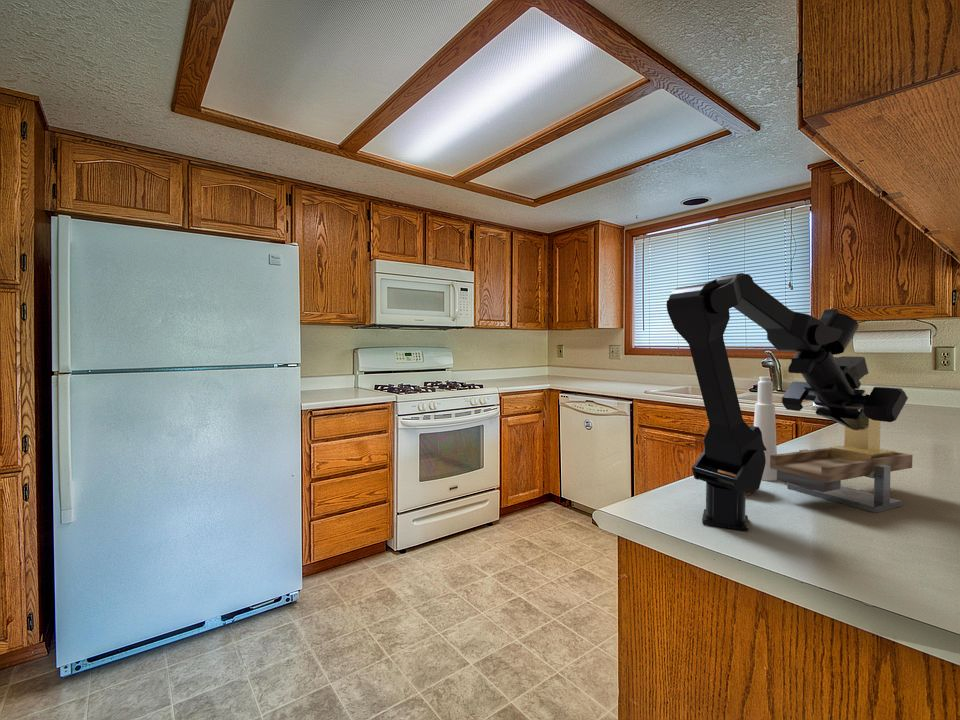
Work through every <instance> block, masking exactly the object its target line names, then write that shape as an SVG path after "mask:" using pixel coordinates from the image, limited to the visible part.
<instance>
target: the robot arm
mask: <svg viewBox="0 0 960 720" xmlns="http://www.w3.org/2000/svg"><path fill="white" fill-rule="evenodd" d="M731 308H734V309H735V310H736V311H738V312H739V313H740V314H742V315H744V316H745V317H747V318H748V319H749V320H750V321H751V322H754V323H755V324H757V325H758V326H759V327H761V328H762V329H763V330H765V332H766V339H767V341H768V342H769V343H770V344H771V345H772V346H773V347H774V348H775V349H776V350H777V351H779V352H792V353H795V352H796V353H795V354H794V356H793V357H792V358H791V360H790V361H791V362H790V364H789V366H788V370H787V371H788V373H790V374H801V376H802V377H803V379H804V380H805V381H792V382H791V383H790V384H789V386H788V388H787V389H786V391H785V392H784V394H783V395H782V397H781V403H782V405H783V406H784V408H785V410H787V411H788V410H789V411H796V412H800V411H801V410H802V409H803V408H804V406H803V404H802V403H803V401H813V403H812V405H811V406H812V407H814V408H815V409H816V410H815V414H816V415H817V416H821V417H824V418H826V419H828V420H830V421H834V422H836V423H837V424H840V425H842V426H844V427H845V426H846V427H848V428H850V429H852V430H859V428H860V416H861V415H862V413H864V414H865V416H866V417H868V418H870V419H872V420H876V421H881V422H884V423H885V422H886V423H893V422H895V421H896V420H897V419H898V417H899V415H900V414H901V412H902V410H903V408H904V406H905V404H906V402H907V401H908V398H909V397H908V396H907V394H906V392H905V391H904V390H903V388H900V387H888V386H887V387H886V386H874V387H873V388H872V390H871V391H870V394H868V393H866V390H865V389H860V387H861V385H862V383H861V381H860V380H861V379H862V378H864V377H865V376H868V374H869V368H868V364H867V362H866V357H864V356H848V355H847V356H836V355H840V354H844V352H845V351H846V349H847V348H848V346H849V344H850V342H852V339H853V337H854V336H855V334H856V333H857V331H858V329H859V326H860V325H859V323H858V321H857V319H854V318H853V317H851V316H850V315H847V314H845V313H842V312H841V313H840V312H839V310H838V309H837V308H832V309H831V308H830V309H824V310H823V312H822V314H821V316H820V318H817V317H815V316H812V315H811V314H808V313H802V312H798V311H794V310H792V309H790V308H789V307H788V306H786V305H784V304H783V303H782V302H781V301H779V300H778V299H777V298H775V297H774V295H772V294H770V293H769V292H768V291H766V290H765V289H764V288H763V287H761V286H759V284H757V283H756V282H755V281H754V280H753V277H752V276H751V274H748V273H743V272H740V273H734V274H726V275H721V276H719V277H718V278H714V279H713V280H711V281H708V282H705V283H701V284H700V283H698V284H694V285H686V286H685V285H684V286H680V287H676V288H674V289H673V290H672V291H671V293H670V294H669V297H668V299H666V311H667V314H668V316H669V319H670V321H671V325H673V328H674V330H675V331H676V332H677V333H678V334H679V336H681V337H682V339H684V341H685V342H686V343H687V344H688V347H689V349H690V354H691V357H692V361H693V365H694V369H695V372H696V377H697V382H698V385H699V388H700V392H701V396H702V401H703V404H704V408H705V413H706V416H707V421H708V427H707V430H706V432H705V435H704V437H703V446H704V447H703V451H702V453H701V454H700V455H699V457H698V458H697V460H696V462H695V463H693V465H692V467H691V470H692V471H691V472H692V474H693V479H695V480H696V481H697V480H699V481H702V482H705V508H704V509H703V512H702V513H703V514H702V521H701V523H702V524H703V525H709V526H715V527H720V528H727V529H733V530H738V531H739V530H741V531H746V532H747V531H749V529H750V528H749V517H748V514H746V498H747V497H746V495H747V494H746V492H747V491H753V490H759V489H760V488H761V487H760V486H761V482H762V481H763V480H762V476H763V472H764V468H765V463H766V458H765V453H764V451H766V448H765V446H764V444H763V440H762V432H761V430H760V429H759V427H755V426H754V425H748V424H747V423H746V422H745V420H744V419H743V414H742V411H741V410H742V409H741V405H740V402H739V397H738V393H737V390H736V386H735V382H734V376H733V373H732V369H731V365H730V360H729V357H728V353H727V349H726V345H725V341H724V334H725V331H726V330H727V329H726V328H727V326H728V325H729V322H730V318H731V317H730V316H731V314H730V309H731ZM834 355H835V356H834ZM718 470H720V471H724V472H727V473H731V474H734V475H736V476H735V477H734V476H730V475H727V474H723V473H720V472H718Z"/></svg>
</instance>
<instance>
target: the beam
mask: <svg viewBox="0 0 960 720" xmlns="http://www.w3.org/2000/svg"><path fill="white" fill-rule="evenodd" d="M806 450H807V451H793V452H785V453H784V452H783V453H777V454H775V455H770V468H771V469H775V470H777V481H779V482H783V483H786V484H788V483H790V484H794V485H797V486H801V487H805V488H809V489H812V490H816V491H820V492H827V491H832V490H838V489H840V488H841V486H842V484H841V482H842V481H844V480H850V479H855V478H856V479H857V478H862V477H865V478H870V479H874V473H875V465H879V464H883V465H888V466H891V471H890V473H891V472H896V471H901V470H902V471H903V470H907V469H913V454H909V453H903V452H898V451H895V455H894V456H888V457H881V458H874V459H868V460H861V461H854V462H851V461H846V460H841V459H836V458H831V457H830V447H824V448H823V447H822V448H817V449H806Z"/></svg>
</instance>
